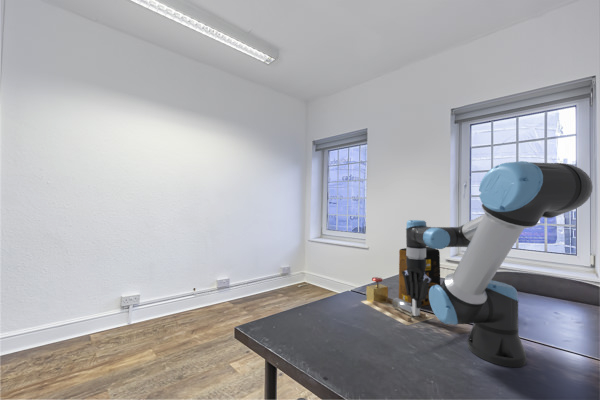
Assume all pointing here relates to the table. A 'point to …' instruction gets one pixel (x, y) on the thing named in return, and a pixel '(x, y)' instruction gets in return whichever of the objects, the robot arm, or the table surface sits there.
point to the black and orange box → (431, 270)
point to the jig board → (413, 319)
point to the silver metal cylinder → (402, 306)
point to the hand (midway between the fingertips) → (416, 314)
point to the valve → (377, 291)
